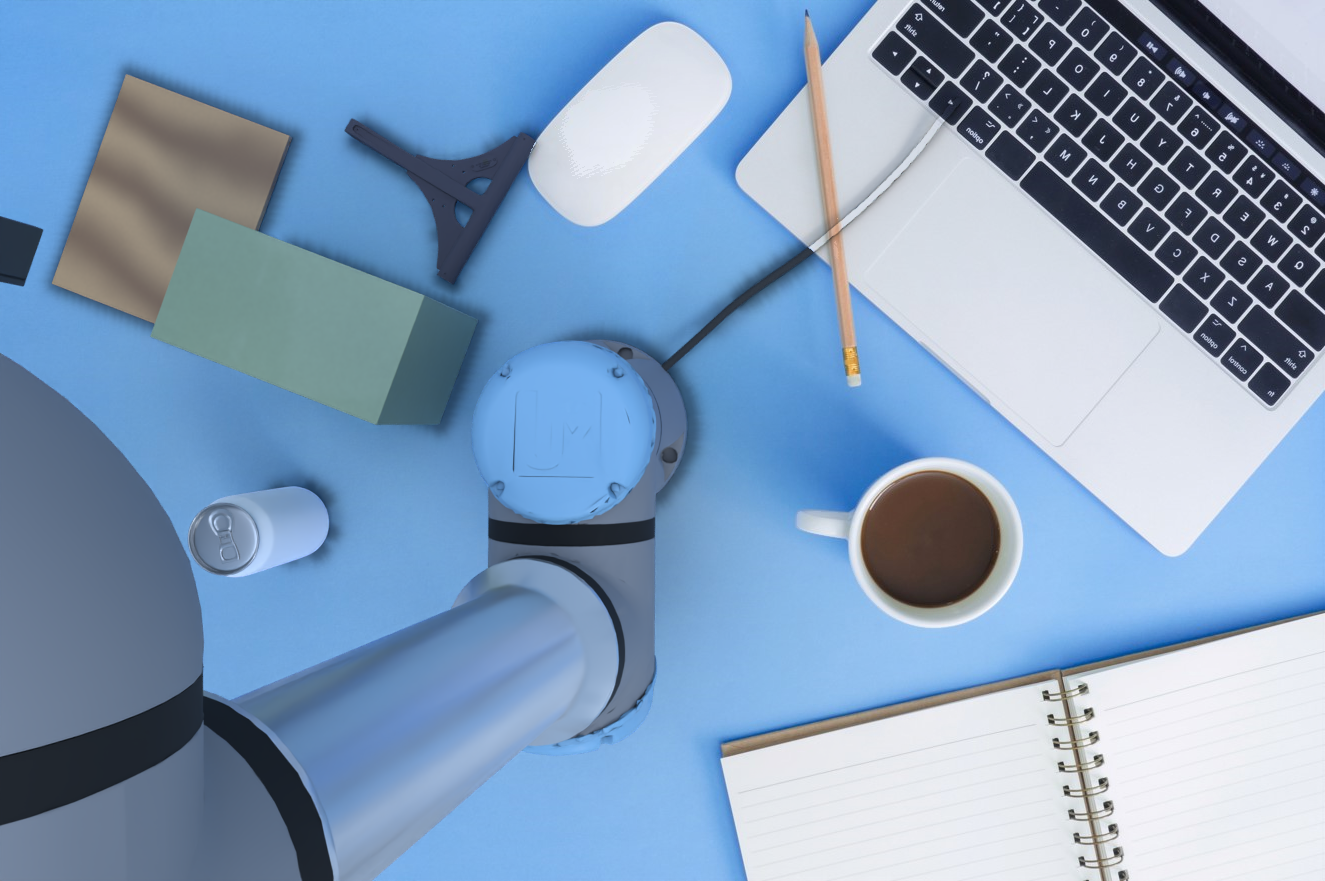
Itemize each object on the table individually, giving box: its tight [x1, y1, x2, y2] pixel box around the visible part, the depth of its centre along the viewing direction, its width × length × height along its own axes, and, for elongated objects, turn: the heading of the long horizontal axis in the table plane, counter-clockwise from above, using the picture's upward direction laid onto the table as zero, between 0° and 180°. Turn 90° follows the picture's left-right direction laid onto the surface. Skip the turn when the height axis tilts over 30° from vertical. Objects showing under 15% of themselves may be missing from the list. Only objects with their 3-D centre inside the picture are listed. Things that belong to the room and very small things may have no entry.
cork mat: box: [51, 73, 293, 325], centre depth 79 cm, size 20×16×1 cm
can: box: [187, 485, 330, 578], centre depth 73 cm, size 6×6×12 cm
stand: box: [149, 208, 479, 426], centre depth 71 cm, size 10×18×15 cm, turn 69°
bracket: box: [344, 117, 537, 285], centre depth 77 cm, size 14×15×3 cm
